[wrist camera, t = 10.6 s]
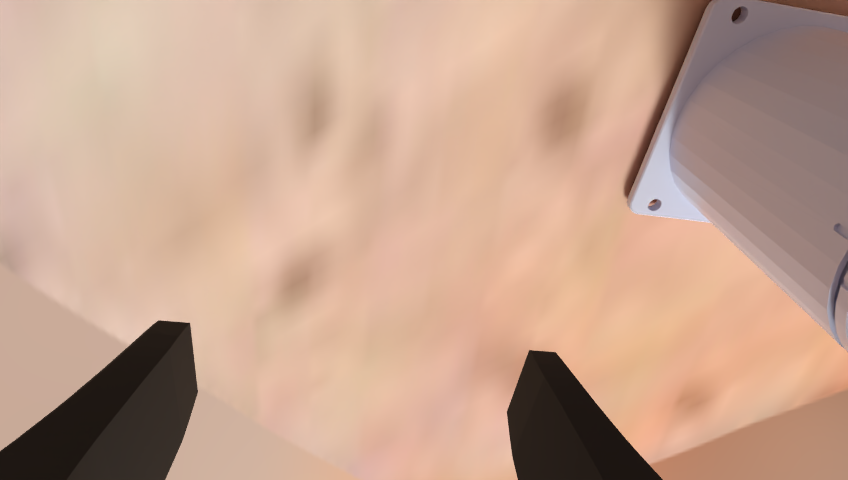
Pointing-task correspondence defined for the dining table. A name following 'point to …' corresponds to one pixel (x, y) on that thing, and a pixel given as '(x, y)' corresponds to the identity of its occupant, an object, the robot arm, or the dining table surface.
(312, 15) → the dining table surface
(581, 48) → the dining table surface
